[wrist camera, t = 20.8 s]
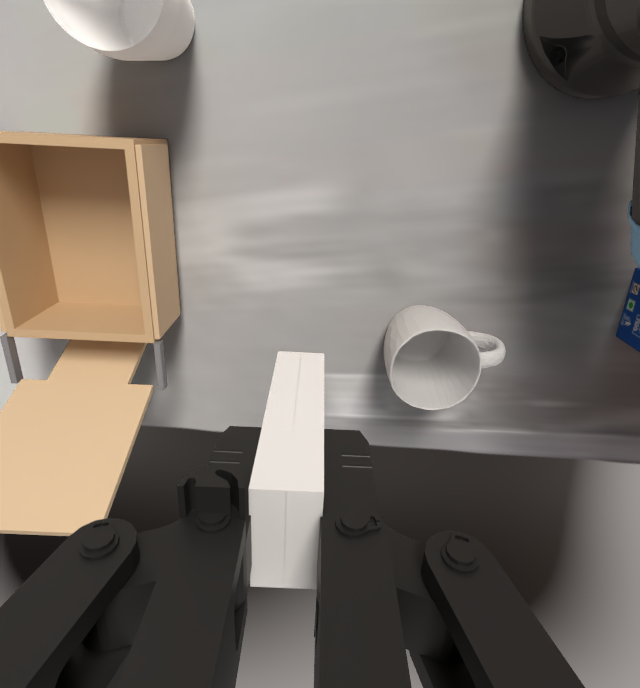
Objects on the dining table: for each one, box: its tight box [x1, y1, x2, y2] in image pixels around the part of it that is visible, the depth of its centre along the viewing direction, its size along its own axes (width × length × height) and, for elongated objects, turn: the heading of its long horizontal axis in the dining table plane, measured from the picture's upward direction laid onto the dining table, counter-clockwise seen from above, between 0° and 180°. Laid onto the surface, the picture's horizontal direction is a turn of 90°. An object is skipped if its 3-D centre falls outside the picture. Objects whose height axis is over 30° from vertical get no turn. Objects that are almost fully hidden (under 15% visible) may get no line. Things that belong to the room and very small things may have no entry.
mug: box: [384, 305, 506, 410], centre depth 49 cm, size 13×9×10 cm
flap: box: [0, 339, 154, 536], centre depth 44 cm, size 22×13×1 cm
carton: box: [0, 131, 181, 390], centre depth 46 cm, size 23×15×9 cm, turn 177°
